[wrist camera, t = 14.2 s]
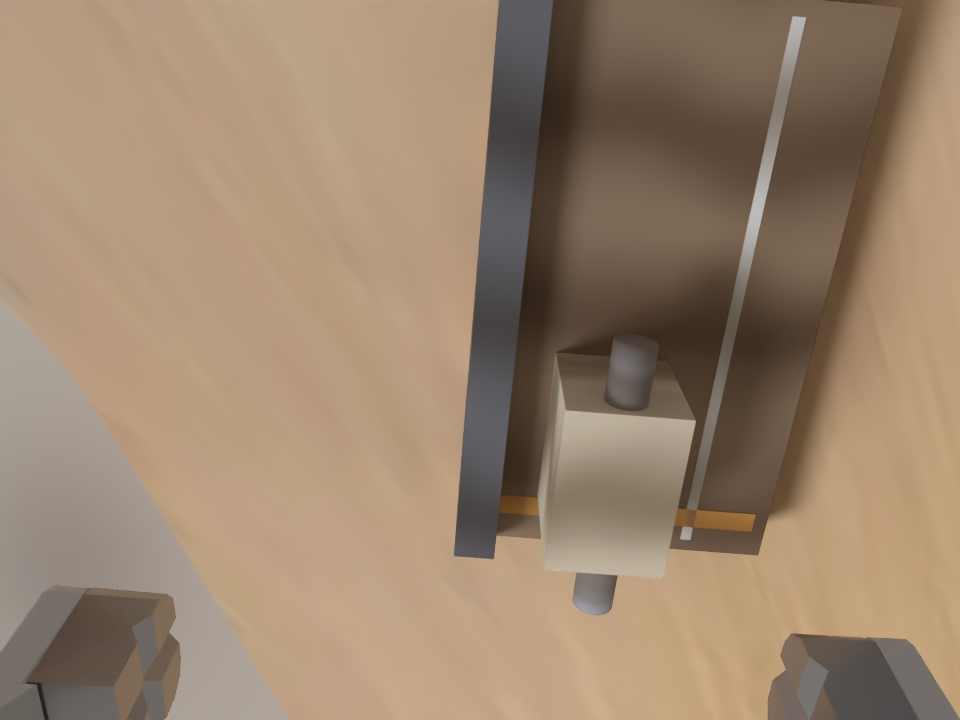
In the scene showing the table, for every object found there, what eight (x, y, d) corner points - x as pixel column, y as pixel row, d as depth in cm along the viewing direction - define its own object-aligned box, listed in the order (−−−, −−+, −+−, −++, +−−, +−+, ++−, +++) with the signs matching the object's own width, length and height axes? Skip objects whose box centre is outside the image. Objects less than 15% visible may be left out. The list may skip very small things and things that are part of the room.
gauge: (562, 299, 28) (574, 350, 24) (677, 308, 28) (708, 361, 24) (532, 538, 32) (537, 617, 28) (632, 546, 32) (652, 625, 28)
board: (501, -27, 26) (502, -30, 23) (874, 6, 26) (927, 7, 23) (457, 503, 34) (454, 556, 31) (743, 525, 34) (769, 579, 31)
